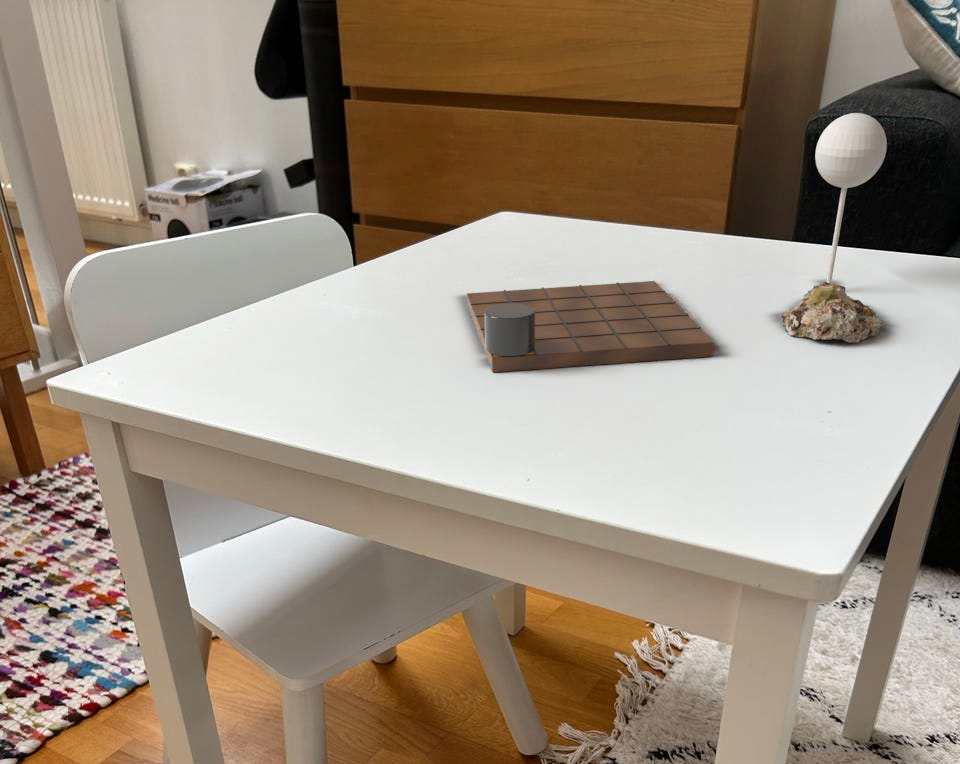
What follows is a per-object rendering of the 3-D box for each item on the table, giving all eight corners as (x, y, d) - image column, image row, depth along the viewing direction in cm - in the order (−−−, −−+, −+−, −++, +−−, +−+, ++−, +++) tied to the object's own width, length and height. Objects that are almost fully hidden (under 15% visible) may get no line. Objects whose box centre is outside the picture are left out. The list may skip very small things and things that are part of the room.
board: (653, 293, 95) (654, 279, 94) (712, 356, 80) (714, 340, 80) (467, 306, 93) (466, 292, 93) (492, 372, 79) (491, 356, 78)
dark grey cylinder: (530, 338, 81) (530, 301, 80) (539, 354, 78) (539, 316, 76) (482, 341, 81) (481, 304, 79) (488, 358, 78) (487, 319, 76)
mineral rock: (897, 321, 79) (800, 289, 79) (871, 372, 81) (777, 341, 82) (884, 287, 88) (797, 259, 88) (861, 334, 90) (776, 306, 90)
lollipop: (858, 302, 91) (893, 119, 82) (792, 298, 92) (819, 118, 84) (860, 284, 95) (893, 108, 87) (797, 280, 97) (823, 107, 88)
